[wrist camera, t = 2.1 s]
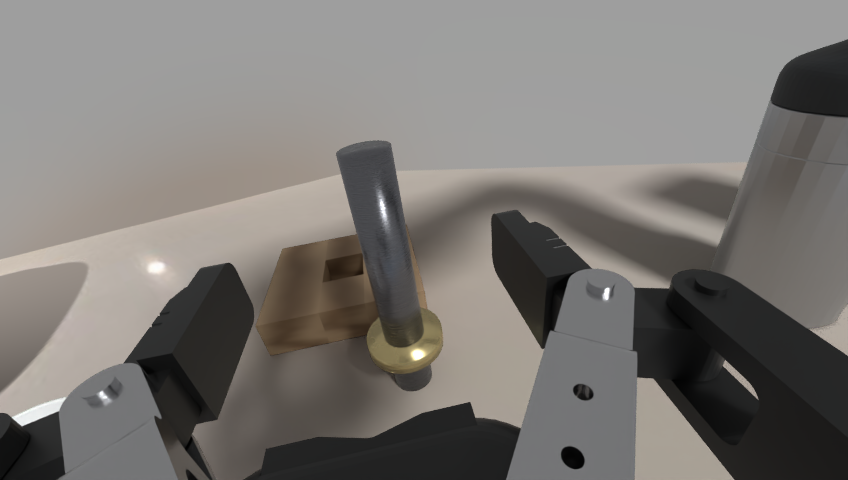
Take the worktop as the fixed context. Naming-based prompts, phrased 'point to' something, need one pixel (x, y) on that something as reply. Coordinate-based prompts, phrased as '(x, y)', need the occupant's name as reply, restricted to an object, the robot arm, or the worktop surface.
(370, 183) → the steel pin
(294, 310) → the wooden base block
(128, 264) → the worktop surface
